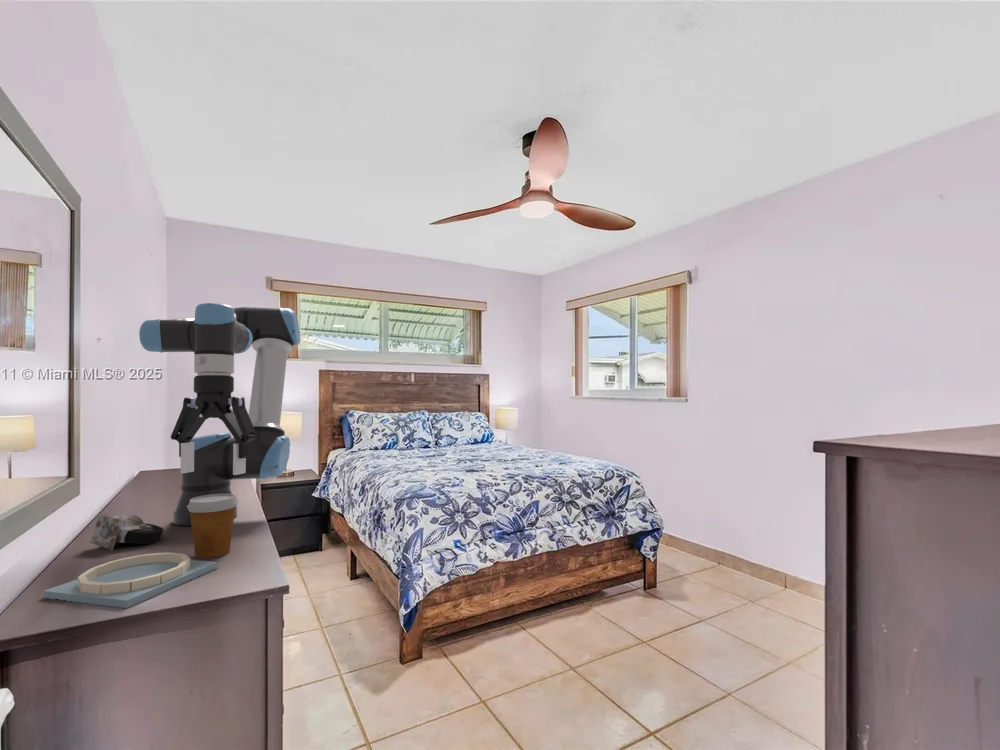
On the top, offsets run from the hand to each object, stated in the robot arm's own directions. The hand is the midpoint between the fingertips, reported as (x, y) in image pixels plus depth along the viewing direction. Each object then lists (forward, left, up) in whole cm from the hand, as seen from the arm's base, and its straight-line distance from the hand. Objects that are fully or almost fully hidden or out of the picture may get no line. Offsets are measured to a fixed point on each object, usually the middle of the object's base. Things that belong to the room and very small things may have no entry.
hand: (212, 473), depth 104 cm
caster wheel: (-3, -25, -18) cm, 31 cm away
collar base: (+16, -1, -17) cm, 23 cm away
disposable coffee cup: (0, 0, -18) cm, 18 cm away
